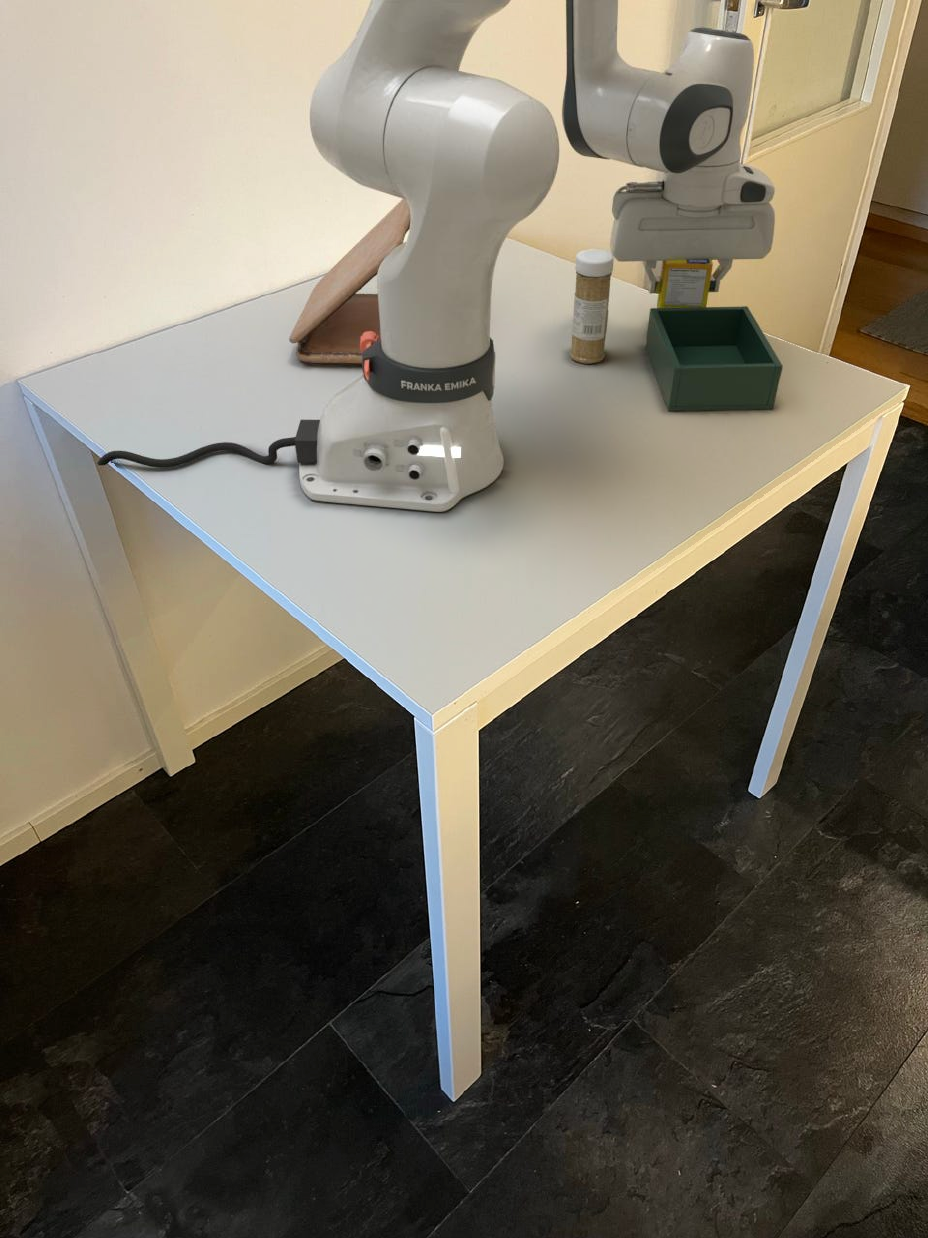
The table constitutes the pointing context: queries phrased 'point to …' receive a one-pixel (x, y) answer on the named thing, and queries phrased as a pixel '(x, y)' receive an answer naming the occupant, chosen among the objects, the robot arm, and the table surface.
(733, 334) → the box
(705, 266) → the supplement box
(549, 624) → the table surface
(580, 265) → the sprinkles bottle
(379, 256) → the case
